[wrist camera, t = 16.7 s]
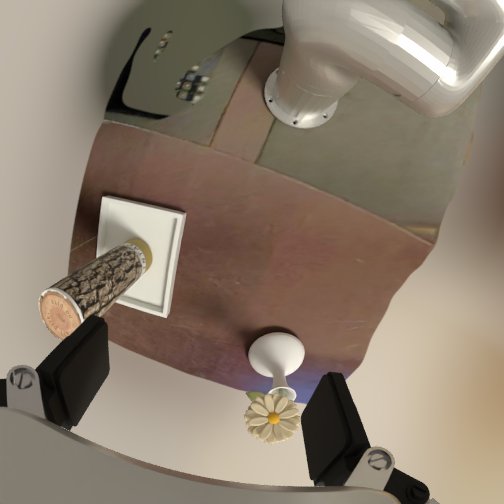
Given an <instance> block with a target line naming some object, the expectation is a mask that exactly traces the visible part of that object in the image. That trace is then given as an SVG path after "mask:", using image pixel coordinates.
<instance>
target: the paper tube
mask: <svg viewBox="0 0 504 504" xmlns="http://www.w3.org/2000/svg"><path fill="white" fill-rule="evenodd" d="M152 260H153V257H152V252H151V249H150V248H149V246H148V245H147V244H146V243H145V242H144V241H142V240H140V239H130V240H127V241H126V242H124V243H122V244H120V245H118V246H116V247H115V248H113V249H111V250H109V251H108V252H106V253H104V254H103V255H101V256H99V257H98V258H96V259H94V260H92V261H91V262H89V263H87V264H86V265H84V266H83V267H81V268H79V269H78V270H76V271H74V272H73V273H71V274H70V275H68V276H66V277H65V278H63V279H62V280H60V281H59V282H57V283H56V284H54V285H52V286H51V287H49V288H48V289H46V290H45V291H44V292H43V293H42V294H41V296H40V299H39V311H40V314H41V317H42V320H43V322H44V324H45V325H46V327H47V328H48V330H49V331H50V332H51V333H52V334H53V335H54V336H55V337H57V338H58V339H60V340H61V341H63V340H64V339H65V338H66V337H67V336H69V335H70V334H71V333H72V332H73V331H74V330H75V329H76V328H77V327H78V326H79V325H80V324H81V323H82V322H83V321H84V320H85V319H86V318H88V317H89V316H90V315H91V314H94V315H96V316H99V317H101V316H102V315H103V314H104V313H105V312H106V311H107V310H108V309H109V308H110V307H111V306H112V305H113V304H114V303H115V302H116V301H117V300H118V299H119V298H120V297H121V296H122V295H123V294H124V293H125V292H126V291H127V290H128V289H129V288H130V287H131V286H132V285H133V284H134V283H135V282H136V281H137V280H138V279H139V278H140V277H141V276H142V275H143V274H144V273H145V272H146V271H147V270H148V269H149V268H150V266H151V264H152Z"/></svg>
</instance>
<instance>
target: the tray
mask: <svg viewBox="0 0 504 504" xmlns="http://www.w3.org/2000/svg"><path fill="white" fill-rule="evenodd" d="M186 214H187V213H185V212H181V211H176V210H172V209H168V208H163V207H159V206H154V205H150V204H146V203H141V202H137V201H132V200H127V199H123V198H118V197H114V196H104V197H102V203H101V211H100V220H99V229H98V241H97V255H96V258H98V257H99V256H101V255H103V254H104V253H106V252H108V251H109V250H111V249H113V248H115V247H116V246H118V245H120V244H122V243H124V242H126V241H127V240H130V239H140V240H142V241H144V242H145V243H146V244H147V245H148V246H149V248H150V249H151V252H152V257H153V260H152V264H151V266H150V268H149V269H148V270H147V271H146V272H145V273H144V274H143V275H142V276H141V277H140V278H139V279H138V280H137V281H136V282H135V283H134V284H133V285H132V286H131V287H130V288H129V289H128V290H127V291H126V292H125V293H124V294H123V295H122V296H121V297H120V298H119V299H118V300H117V301H116V302H117V303H120V304H123V305H126V306H129V307H132V308H135V309H138V310H141V311H145V312H148V313H151V314H155V315H158V316H161V317H165V318H167V316H168V314H169V313H170V307H171V300H172V293H173V287H174V280H175V274H176V268H177V262H178V256H179V250H180V245H181V239H182V234H183V229H184V224H185V219H186Z"/></svg>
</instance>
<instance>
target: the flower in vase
mask: <svg viewBox="0 0 504 504" xmlns="http://www.w3.org/2000/svg"><path fill="white" fill-rule="evenodd" d="M304 354H305V351H304V346H303V344H302V343H301V341H300V340H299V339H297V338H296V337H295V336H293V335H290V334H287V333H282V332H275V333H269V334H266V335H264V336H262V337H260V338H258V339H257V340H256V341H255V342H254V343H253V344H252V346H251V347H250V349H249V354H248V357H249V361H250V364H251V365H252V367H253V368H254V369H255V370H256V371H257V372H258V373H260V374H262V375H264V376H268V377H273V386H272V389H271V390H270V391H269V392H268V393H267V394H265V395H264V394H263V393H260V392H246V394H247V396H248V397H249V398H250V400H251V401H252V403H251V406H249V407H248V410H247V411H246V414H245V415H244V419H246V420H248V421H247V422H246V426H247V427H249V428H248V432H249V433H250V434H252V435H253V436H256V438H257V439H261V440H263V441H264V442H266V443H268V444H272V443H276V442H277V441H279V442H282V441H283V440H286V439H291V438H292V437H293V434H294V432H296V431H297V430H298V426H297V425H300V422H301V421H300V420H301V417H300V416H297V415H298V414H299V411H298V409H296V407H297V405H296V404H295V403H294V400H295V398H296V393H295V391H294V390H293V389H292V388H289V386H288V385H287V382H286V379H285V376H286V375H289V374H291V373H292V372H294V371H295V370H297V369H298V368H299V366H300V365H301V363H302V361H303V359H304Z"/></svg>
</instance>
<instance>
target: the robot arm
mask: <svg viewBox="0 0 504 504" xmlns="http://www.w3.org/2000/svg"><path fill="white" fill-rule="evenodd" d="M429 1H431V2H432V3H434V4H435V5H436V6H438V7H439V8H440V9H441V10H442V11H443V12H444V14H445V21H444V24H443V25H442V24H440V23H439V22H438V21H436V20H435V19H434V18H432V17H431V16H430V15H428V14H427V13H426V12H424V11H423V10H421V9H420V8H419V7H417V6H416V5H414V4H413V3H411V2H410V1H409V0H283V5H282V18H283V26H284V31H285V44H284V48H283V53H282V57H281V61H280V65H279V68H277V69H276V70H274V71H273V72H272V73H271V75H270V76H269V78H268V79H267V82H266V84H265V91H264V96H265V101H266V104H267V107H268V108H269V110H270V112H271V113H272V114H273V115H274V116H275V118H277V119H278V120H279V121H280V122H282V123H284V124H286V125H288V126H290V127H293V128H299V129H310V128H315V127H318V126H320V125H322V124H323V123H325V122H326V121H328V120H329V119H330V118H331V116H332V115H333V114H334V112H335V110H336V107H337V103H338V99H339V98H340V97H341V96H343V95H344V94H345V93H346V92H347V91H349V90H350V89H351V88H352V87H353V86H354V85H355V84H356V83H357V82H358V80H359V79H360V77H361V78H365V79H366V80H368V81H370V82H371V83H373V84H375V85H376V86H378V87H380V88H381V89H383V90H384V91H386V92H387V93H389V94H390V95H392V96H393V97H395V98H396V99H398V100H399V101H401V102H402V103H404V104H405V105H407V106H408V107H410V108H411V109H413V110H414V111H416V112H417V113H419V114H421V115H424V116H427V117H432V118H436V117H441V116H444V115H447V114H449V113H450V112H452V111H453V110H455V109H456V108H457V107H458V106H459V105H460V104H462V103H463V102H464V101H465V100H466V98H467V97H468V96H469V95H470V94H471V93H472V92H473V91H474V90H475V88H476V87H477V86H478V85H479V84H480V83H481V81H482V80H483V79H484V78H485V77H486V75H487V74H488V73H489V72H490V71H491V69H492V68H493V67H494V66H495V64H496V63H497V62H498V61H499V60H500V58H501V57H502V55H504V0H429ZM277 73H278V74H277ZM269 100H271V101H272V102H269ZM323 116H325V117H326V118H324V117H323ZM293 122H295V124H293ZM109 370H110V367H109V351H108V325H107V323H106V322H105V320H104V318H102V317H99V316H96V315H94V314H91V315H90V316H89V317H88V318H86V319H85V320H84V321H83V322H82V323H81V324H80V325H79V326H78V327H77V328H76V329H75V330H74V331H73V332H72V333H71V334H70V335H69V336H67V337H66V338H65V339H64V340H63V341H62V342H61V343H60V344H59V345H58V346H57V347H56V348H55V349H54V350H53V351H52V352H51V353H50V354H49V355H48V356H47V357H46V359H45V360H43V362H42V363H41V364H40V365H39V366H38V367H37V368H36V369H35V370H34V369H33V368H32V367H29V366H26V365H19V366H15V367H13V368H12V369H11V370H9V372H8V374H7V378H6V379H0V504H439V503H438V502H437V501H436V500H435V499H434V498H433V499H431V500H430V499H429V495H430V494H429V490H428V487H427V486H426V485H425V484H424V483H422V482H420V481H418V480H416V479H414V478H413V477H410V476H409V475H407V474H405V473H403V472H401V471H400V470H397V469H396V468H394V464H395V460H394V457H393V455H392V454H391V453H390V452H389V451H388V450H386V449H384V448H382V447H371V446H370V443H369V441H368V438H367V435H366V432H365V430H364V427H363V424H362V422H361V419H360V416H359V414H358V411H357V408H356V406H355V404H354V402H353V399H352V397H351V394H350V392H349V389H348V387H347V384H346V381H345V379H344V376H343V374H342V373H336V372H328V373H327V375H323V377H322V378H321V380H320V382H319V384H318V386H317V388H316V390H315V392H314V393H313V395H312V397H311V399H310V400H309V402H308V404H307V406H306V408H305V409H304V411H303V413H302V415H301V425H302V431H303V437H304V444H305V449H306V455H307V462H308V469H309V476H310V479H311V480H314V486H319V487H294V486H268V485H256V484H246V483H238V482H230V481H223V480H217V479H211V478H206V477H201V476H195V475H191V474H187V473H182V472H178V471H174V470H171V469H167V468H163V467H160V466H156V465H153V464H149V463H146V462H143V461H140V460H137V459H134V458H131V457H129V456H126V455H123V454H120V453H118V452H115V451H113V450H110V449H108V448H105V447H103V446H101V445H98V444H96V443H94V442H91V441H89V440H87V439H85V438H82V437H80V436H78V435H76V434H74V433H72V432H70V430H71V428H72V426H77V425H78V423H79V421H80V419H81V418H82V416H83V415H84V413H85V411H86V410H87V408H88V406H89V405H90V403H91V401H92V400H93V398H94V396H95V395H96V393H97V392H98V390H99V389H100V387H101V385H102V384H103V382H104V381H105V379H106V378H107V376H108V374H109ZM62 427H63V428H62ZM64 428H65V429H64ZM66 429H67V430H66ZM68 430H69V431H68Z"/></svg>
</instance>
